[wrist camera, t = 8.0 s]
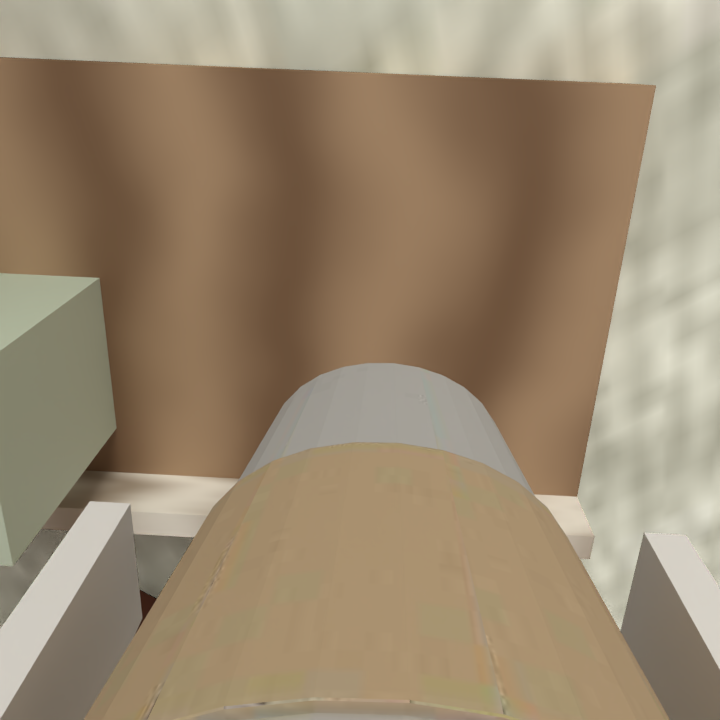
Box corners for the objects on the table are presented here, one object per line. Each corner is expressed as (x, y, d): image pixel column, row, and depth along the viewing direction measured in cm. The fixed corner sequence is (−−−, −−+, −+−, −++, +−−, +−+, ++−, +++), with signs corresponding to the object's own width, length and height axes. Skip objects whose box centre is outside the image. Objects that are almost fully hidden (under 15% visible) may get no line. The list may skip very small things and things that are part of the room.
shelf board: (2, 463, 30) (-59, 527, 26) (-76, 54, 23) (-175, 51, 19) (560, 493, 29) (589, 563, 25) (634, 84, 23) (688, 88, 19)
